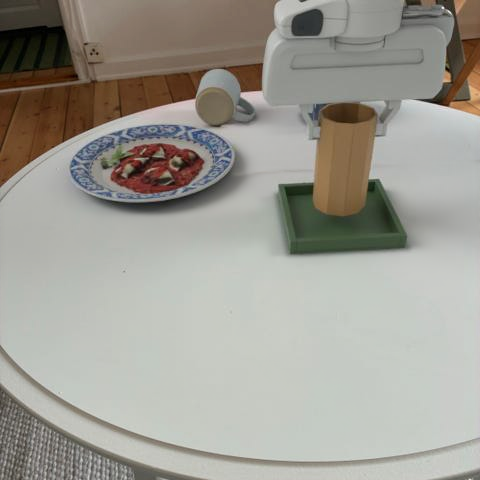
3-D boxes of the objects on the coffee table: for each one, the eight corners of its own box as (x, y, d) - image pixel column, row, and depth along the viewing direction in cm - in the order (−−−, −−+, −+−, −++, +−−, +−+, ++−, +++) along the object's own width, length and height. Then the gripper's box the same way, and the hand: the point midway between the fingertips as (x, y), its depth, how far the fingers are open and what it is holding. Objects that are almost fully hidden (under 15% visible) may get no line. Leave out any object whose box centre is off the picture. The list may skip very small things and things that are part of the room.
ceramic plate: (266, 157, 88) (266, 140, 85) (163, 233, 72) (161, 214, 70) (147, 124, 99) (144, 108, 97) (36, 184, 83) (30, 166, 81)
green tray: (377, 190, 79) (379, 178, 78) (404, 248, 68) (407, 235, 67) (278, 195, 79) (278, 183, 77) (289, 254, 68) (290, 242, 67)
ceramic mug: (194, 127, 97) (191, 83, 91) (201, 109, 103) (198, 67, 97) (253, 129, 96) (253, 85, 91) (256, 111, 102) (257, 68, 97)
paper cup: (357, 188, 74) (369, 100, 66) (369, 215, 69) (383, 123, 61) (310, 190, 74) (315, 102, 66) (317, 217, 69) (325, 126, 61)
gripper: (448, -4, 58) (422, 121, 68) (260, 4, 58) (260, 129, 67) (469, 11, 54) (438, 143, 63) (265, 20, 53) (264, 152, 63)
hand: (345, 136), depth 65 cm, fingers closed on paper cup, 6 cm apart
